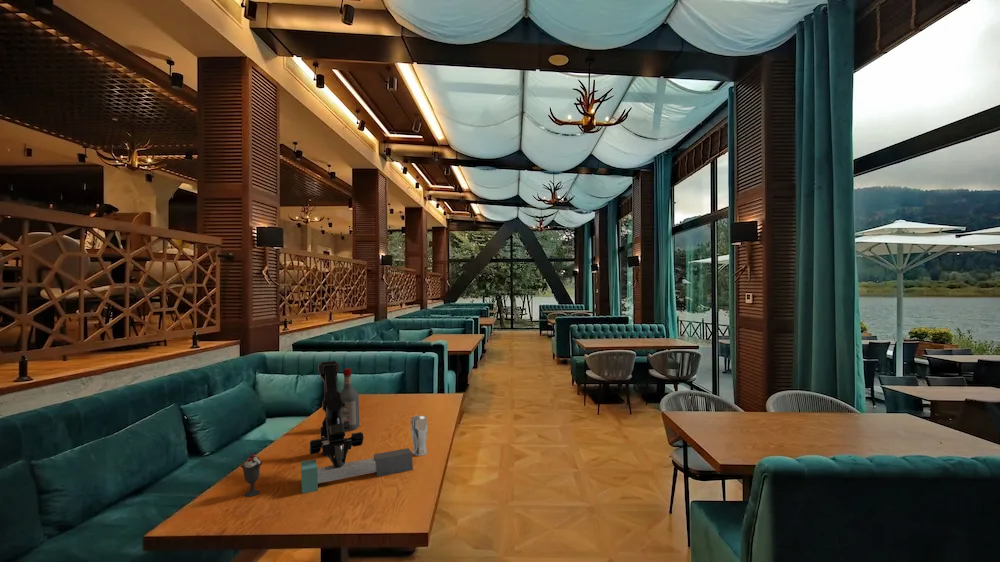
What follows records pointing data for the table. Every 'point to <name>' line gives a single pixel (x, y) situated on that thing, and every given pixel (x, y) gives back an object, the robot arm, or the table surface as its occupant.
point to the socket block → (309, 476)
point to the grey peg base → (345, 467)
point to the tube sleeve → (393, 462)
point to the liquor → (350, 402)
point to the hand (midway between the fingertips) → (339, 464)
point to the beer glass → (419, 435)
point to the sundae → (251, 473)
